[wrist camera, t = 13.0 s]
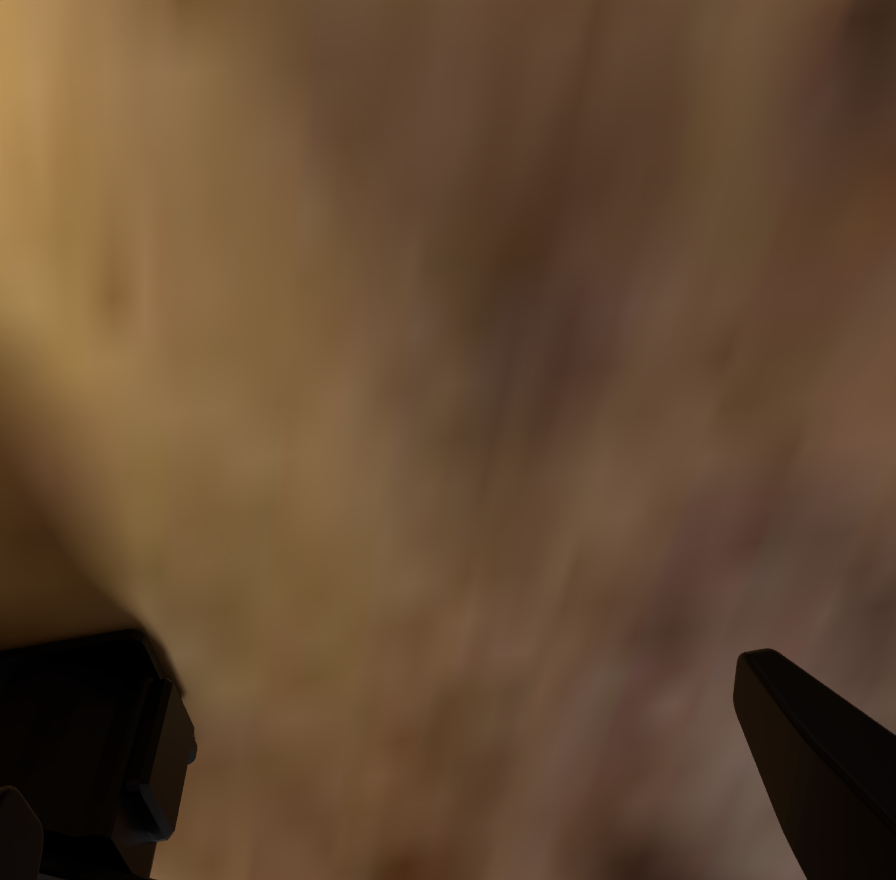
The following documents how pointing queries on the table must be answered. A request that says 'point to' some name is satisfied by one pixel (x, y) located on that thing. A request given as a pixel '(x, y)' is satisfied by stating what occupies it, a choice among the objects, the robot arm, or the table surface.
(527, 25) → the table surface
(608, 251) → the table surface
